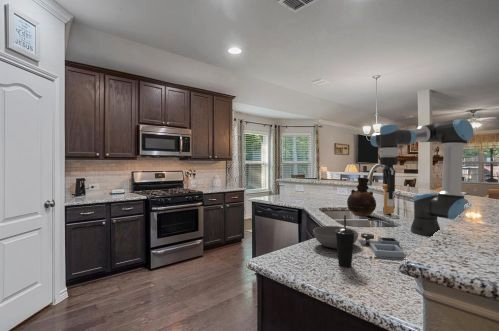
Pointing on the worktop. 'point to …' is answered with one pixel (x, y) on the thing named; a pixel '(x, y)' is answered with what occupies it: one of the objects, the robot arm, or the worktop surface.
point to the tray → (396, 253)
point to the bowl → (329, 235)
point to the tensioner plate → (380, 241)
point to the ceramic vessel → (361, 199)
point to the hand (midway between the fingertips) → (388, 205)
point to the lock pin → (386, 208)
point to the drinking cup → (345, 245)
